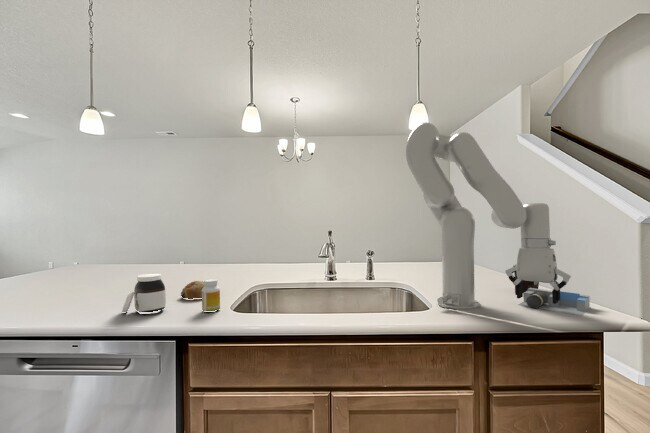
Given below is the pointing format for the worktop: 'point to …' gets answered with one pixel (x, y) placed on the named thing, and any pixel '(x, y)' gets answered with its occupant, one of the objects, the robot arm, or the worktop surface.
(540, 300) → the banded gray canister
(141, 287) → the spread jar
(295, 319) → the worktop surface
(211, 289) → the supplement bottle
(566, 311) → the grey ledge plate
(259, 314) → the worktop surface
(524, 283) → the coffee mug
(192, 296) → the bread roll
